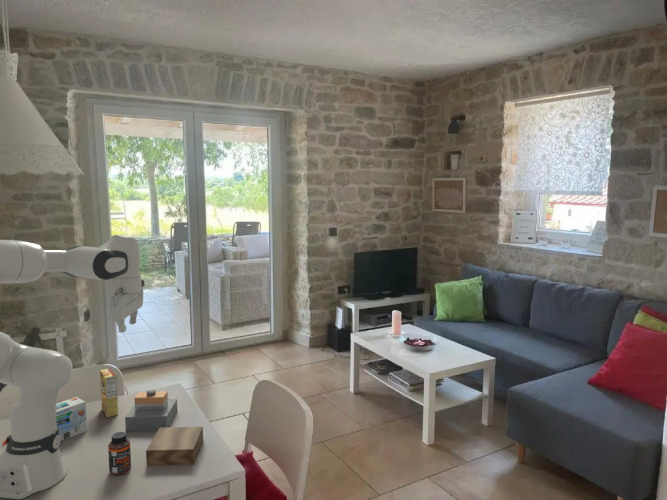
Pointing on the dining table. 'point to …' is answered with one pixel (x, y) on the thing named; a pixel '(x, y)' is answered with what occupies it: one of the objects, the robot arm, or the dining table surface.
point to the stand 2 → (175, 446)
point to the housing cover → (151, 397)
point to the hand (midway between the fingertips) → (127, 327)
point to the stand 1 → (151, 418)
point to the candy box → (109, 392)
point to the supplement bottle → (119, 454)
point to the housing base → (151, 407)
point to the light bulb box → (71, 418)
